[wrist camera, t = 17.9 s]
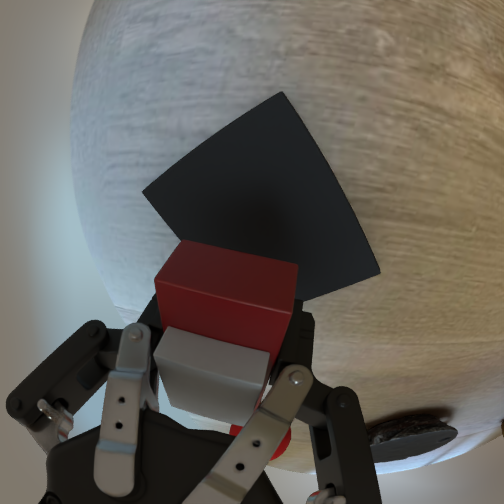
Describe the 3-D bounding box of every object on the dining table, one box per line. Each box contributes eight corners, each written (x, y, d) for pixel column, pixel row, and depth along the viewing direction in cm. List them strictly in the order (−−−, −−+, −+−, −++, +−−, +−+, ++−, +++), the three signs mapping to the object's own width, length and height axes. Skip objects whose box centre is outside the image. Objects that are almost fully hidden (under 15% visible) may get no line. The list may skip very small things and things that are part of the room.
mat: (145, 188, 19) (141, 192, 19) (282, 91, 14) (281, 91, 13) (249, 314, 25) (248, 319, 24) (379, 268, 19) (381, 273, 19)
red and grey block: (170, 420, 13) (128, 308, 7) (196, 357, 17) (189, 224, 11) (249, 441, 13) (290, 353, 7) (265, 374, 16) (303, 248, 11)
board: (479, 401, 29) (484, 425, 25) (413, 443, 42) (413, 462, 38) (382, 402, 31) (382, 434, 27) (326, 442, 44) (324, 464, 40)
